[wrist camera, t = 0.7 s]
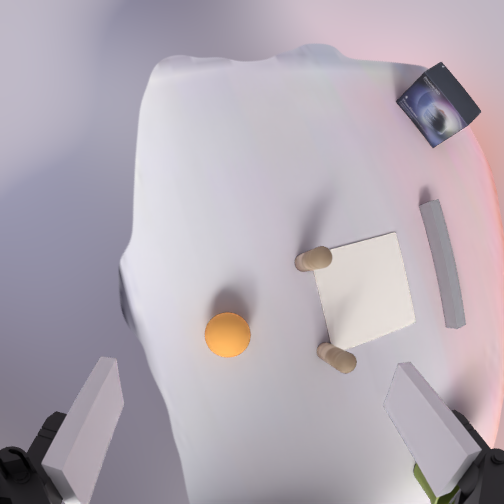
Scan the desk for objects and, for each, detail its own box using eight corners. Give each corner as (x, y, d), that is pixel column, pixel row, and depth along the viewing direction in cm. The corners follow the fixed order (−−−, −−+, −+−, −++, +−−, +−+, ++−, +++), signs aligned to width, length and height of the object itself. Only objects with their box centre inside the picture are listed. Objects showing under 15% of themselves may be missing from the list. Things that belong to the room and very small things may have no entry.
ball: (253, 346, 41) (258, 355, 36) (212, 356, 41) (211, 366, 35) (242, 306, 42) (245, 309, 36) (201, 316, 41) (198, 320, 36)
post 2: (335, 356, 42) (358, 369, 34) (318, 361, 42) (339, 376, 34) (331, 340, 42) (354, 350, 34) (315, 345, 42) (335, 357, 34)
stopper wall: (454, 323, 45) (465, 324, 42) (446, 327, 44) (457, 328, 41) (427, 203, 46) (438, 199, 43) (418, 205, 46) (429, 201, 43)
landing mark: (415, 322, 44) (415, 322, 44) (333, 354, 42) (333, 354, 42) (394, 232, 45) (395, 232, 45) (309, 255, 43) (309, 254, 43)
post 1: (314, 269, 43) (334, 265, 35) (297, 273, 43) (314, 270, 35) (309, 251, 43) (329, 243, 35) (292, 256, 43) (309, 249, 35)
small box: (393, 102, 48) (423, 70, 37) (412, 89, 49) (441, 59, 38) (432, 150, 48) (468, 126, 37) (448, 134, 48) (483, 110, 38)
